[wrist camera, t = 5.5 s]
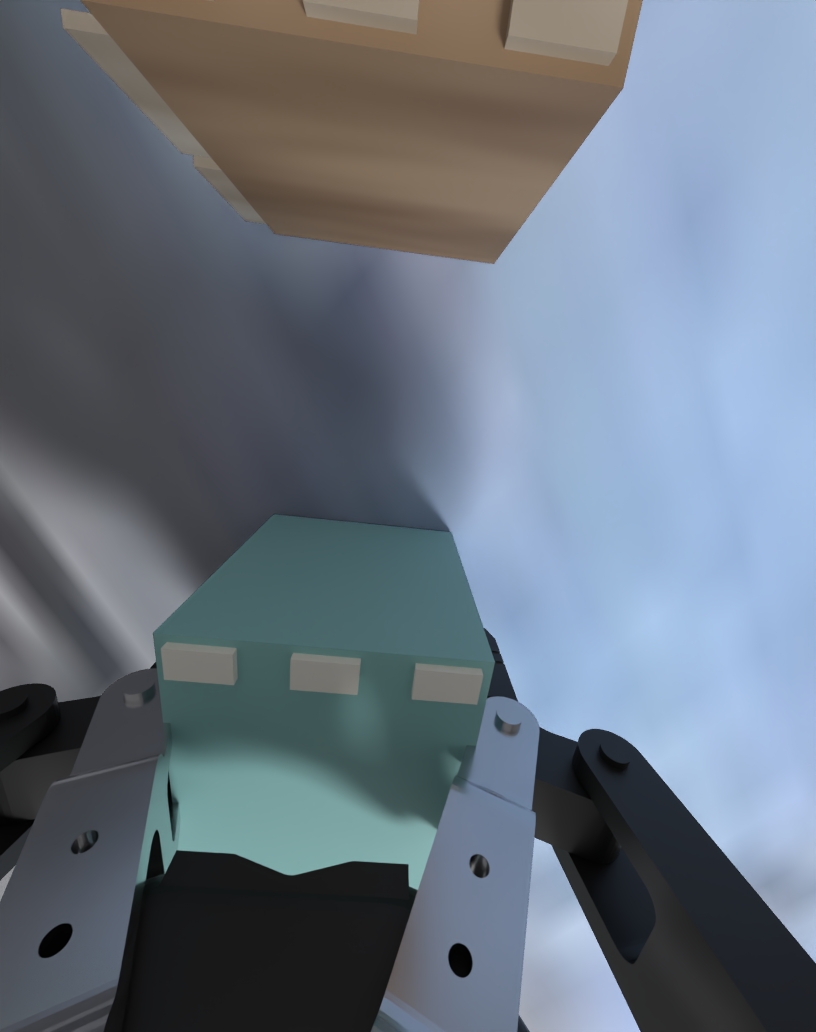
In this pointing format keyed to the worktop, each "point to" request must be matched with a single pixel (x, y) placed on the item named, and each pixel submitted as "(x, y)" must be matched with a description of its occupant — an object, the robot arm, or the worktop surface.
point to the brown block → (371, 106)
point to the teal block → (323, 695)
